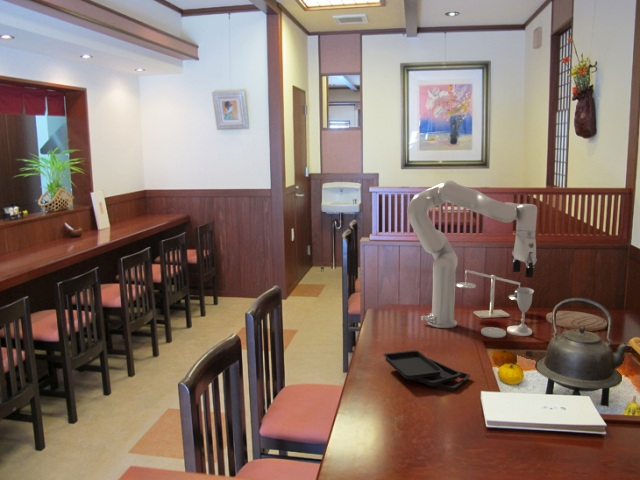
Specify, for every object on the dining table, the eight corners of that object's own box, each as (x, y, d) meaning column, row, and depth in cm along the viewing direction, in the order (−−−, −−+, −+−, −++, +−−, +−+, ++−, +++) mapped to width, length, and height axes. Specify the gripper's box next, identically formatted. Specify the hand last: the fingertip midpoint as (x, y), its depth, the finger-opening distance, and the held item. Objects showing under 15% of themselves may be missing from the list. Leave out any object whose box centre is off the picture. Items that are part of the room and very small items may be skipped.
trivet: (535, 322, 253) (535, 318, 253) (561, 311, 270) (561, 307, 269) (592, 336, 235) (592, 331, 235) (616, 323, 251) (616, 319, 251)
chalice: (532, 334, 232) (535, 294, 227) (514, 333, 233) (517, 293, 228) (529, 327, 239) (532, 287, 234) (512, 326, 240) (515, 286, 235)
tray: (474, 374, 195) (475, 360, 194) (456, 401, 175) (457, 385, 174) (392, 359, 209) (393, 345, 208) (367, 382, 189) (368, 367, 188)
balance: (459, 319, 255) (461, 272, 252) (451, 314, 264) (453, 268, 260) (531, 315, 262) (534, 269, 258) (521, 310, 271) (524, 265, 267)
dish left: (487, 338, 231) (488, 335, 231) (476, 330, 240) (477, 327, 240) (510, 336, 233) (510, 334, 232) (498, 329, 242) (498, 326, 242)
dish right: (514, 336, 233) (514, 333, 233) (502, 329, 243) (502, 326, 242) (536, 335, 235) (536, 332, 235) (523, 327, 244) (524, 325, 244)
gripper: (545, 237, 224) (542, 279, 227) (522, 230, 241) (519, 269, 244) (528, 237, 223) (525, 279, 226) (506, 230, 239) (503, 270, 242)
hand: (522, 274), depth 235 cm, fingers open, 9 cm apart
